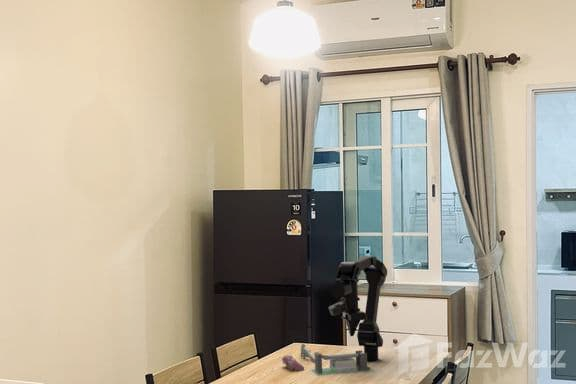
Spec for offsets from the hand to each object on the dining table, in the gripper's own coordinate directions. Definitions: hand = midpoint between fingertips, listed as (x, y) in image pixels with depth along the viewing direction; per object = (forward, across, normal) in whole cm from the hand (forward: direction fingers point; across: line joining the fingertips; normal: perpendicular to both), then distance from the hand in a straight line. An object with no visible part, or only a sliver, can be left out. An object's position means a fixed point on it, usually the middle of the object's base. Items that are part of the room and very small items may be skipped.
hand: (351, 336), depth 256 cm
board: (+13, 0, -4) cm, 14 cm away
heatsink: (+12, 0, -4) cm, 13 cm away
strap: (+8, 0, -4) cm, 9 cm away
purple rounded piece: (+13, -9, -21) cm, 27 cm away
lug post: (+12, 0, -14) cm, 18 cm away
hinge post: (+12, 0, +4) cm, 13 cm away
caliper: (+14, -20, -11) cm, 26 cm away
